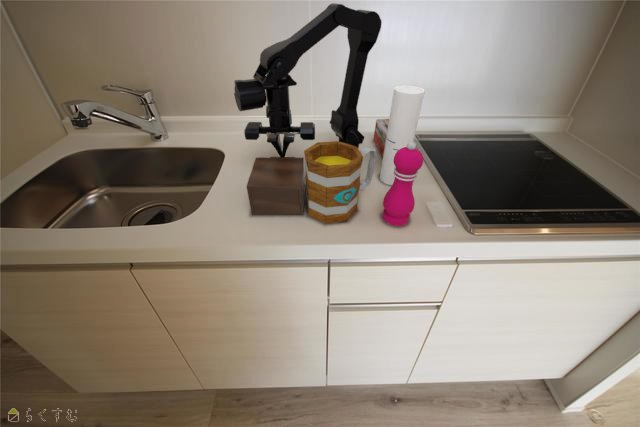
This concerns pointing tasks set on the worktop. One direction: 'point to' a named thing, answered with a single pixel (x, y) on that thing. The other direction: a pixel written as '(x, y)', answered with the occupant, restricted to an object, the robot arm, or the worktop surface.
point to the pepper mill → (402, 185)
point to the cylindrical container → (400, 126)
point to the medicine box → (381, 134)
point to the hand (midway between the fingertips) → (283, 158)
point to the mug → (335, 180)
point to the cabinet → (276, 186)
